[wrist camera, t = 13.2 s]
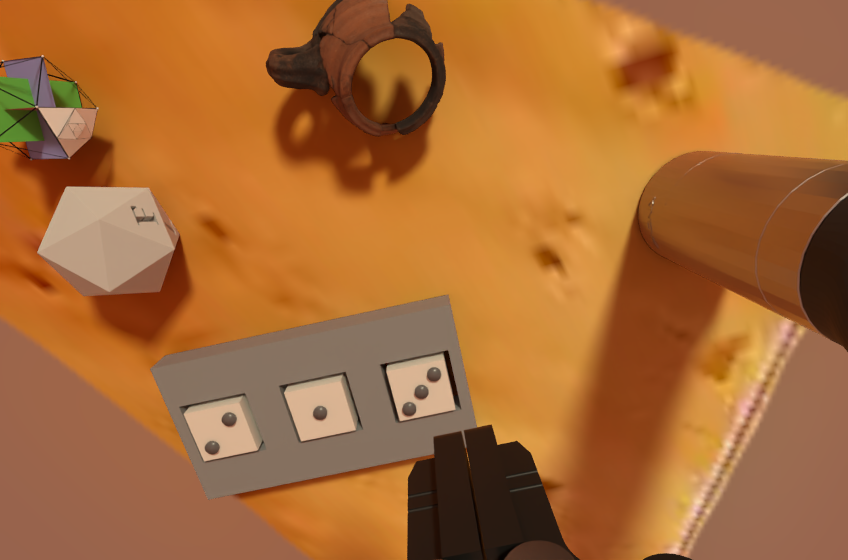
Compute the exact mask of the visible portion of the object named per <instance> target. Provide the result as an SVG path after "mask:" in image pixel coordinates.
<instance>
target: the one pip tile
mask: <svg viewBox="0 0 848 560" xmlns="http://www.w3.org/2000/svg"><path fill="white" fill-rule="evenodd" d="M284 394H285V397H286V400H287V403H288V406H289V408H290V411H291V414H292V417H293V420H294V423H295V425H296V428H297V431H298V434H299V437H300V440H301V441H306V440H311V439H316V438H320V437H325V436H330V435H335V434H340V433H345V432H350V431H354V430H356V427H357V421H358V416H359V414H358V410H357V407H356V404H355V401H354V397H353V394H352V391H351V387H350V384H349V381H348V377H347V374H346V372H342V373H337V374H332V375H327V376H323V377H318V378H313V379H309V380H304V381H299V382H294V383H290V384H288V386H287V388H286V390H285V392H284Z"/></svg>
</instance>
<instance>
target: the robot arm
mask: <svg viewBox="0 0 848 560" xmlns="http://www.w3.org/2000/svg"><path fill="white" fill-rule="evenodd" d="M638 221H639V226H640V231H641V233H642V235H643V238H644V240H645V241H646V243H647V244H648V245H649V246H650V248H651V249H652V250H654V251H655V252H656V253H658V254H659V255H661V256H663V257H665V258H667V259H669V260H671V261H673V262H675V263H677V264H679V265H681V266H683V267H684V268H686V269H688V270H690V271H692V272H694V273H696V274H698V275H700V276H702V277H704V278H706V279H708V280H710V281H712V282H714V283H716V284H718V285H720V286H722V287H724V288H726V289H728V290H730V291H732V292H734V293H736V294H738V295H740V296H742V297H745V298H747V299H749V300H751V301H753V302H755V303H757V304H759V305H761V306H763V307H765V308H767V309H769V310H771V311H773V312H775V313H777V314H779V315H781V316H783V317H785V318H787V319H789V320H791V321H793V322H795V323H797V324H799V325H801V326H803V327H805V328H807V329H809V330H811V331H813V332H816V333H818V334H820V335H822V336H824V337H826V338H828V339H830V340H832V341H834V342H836V343H838V344H840V345H842V346H843V347H844V348H845V349H846V350H847V352H848V161H842V160H827V159H813V158H798V157H783V156H768V155H753V154H741V153H727V152H711V151H696V152H692V153H687V154H684V155H681V156H679V157H677V158H674V159H673V160H671V161H670V162H668V163H667V164H665V165H664V166H663V167H662V168H661V169H660V170H659V171H658V172H657V173H656V174H654V176H653V177H652V178H651V180H650V181H649V183H648V184H647V186H646V188H645V190H644V192H643V194H642V197H641V201H640V205H639V214H638ZM464 435H465V441H466V447H467V452H468V457H467V453H466V448H465V444H464V440H463V435H462V431H458V432H453V433H448V434H443V435H438V436H434V437H433V442H434V456H435V458H432V459H427V460H422V461H417V462H416V463H415V465H414V467H413V469H412V471H411V473H410V475H409V477H408V546H407V560H580V559H579V558H577V557H576V556H575V555H574V554H573V553H572V552H571V551H570V550H569V549H568V547H567V546H566V544H565V542H564V540H563V538H562V535H561V533H560V530H559V527H558V525H557V522H556V519H555V517H554V514H553V511H552V509H551V506H550V503H549V501H548V498H547V495H546V493H545V490H544V487H543V485H542V482H541V479H540V476H539V474H538V472H537V468H536V466H535V463H534V460H533V458H532V455H531V453H530V452H529V451H528V450H527V449H526V448H524V447H523V446H522V445H521V444H520V443H519V442H518V441H515V442H510V443H505V444H500V445H497V442H496V439H495V435H494V431H493V428H492V425H487V426H482V427H477V428H472V429H467V430H464ZM468 458H469V461H468ZM469 464H470V466H469ZM643 560H692V559H690V558H687V557H684V556H681V555H676V554H667V553H664V554H656V555H652V556H649V557H647V558H645V559H643Z"/></svg>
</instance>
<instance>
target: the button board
mask: <svg viewBox="0 0 848 560" xmlns="http://www.w3.org/2000/svg"><path fill="white" fill-rule="evenodd" d="M446 350H448V351H449V356H450V360H451V365H452V369H453V374H454V378H455V382H456V387H457V391H458V395H456V396H453V397H454V403H455V409H456V410H452V411H447V412H442V413H437V414H432V415H427V416H423V417H418V418H413V419H408V420H403V421H400V419H399V416H398V412H397V408H396V405H395V401H394V397H393V394H392V390H391V386H390V383H389V379H388V375H387V372H386V371H387V370H386V366H385V363H389V362H394V361H399V360H403V359H408V358H413V357H418V356H422V355H427V354H432V353H437V352H441V351H446ZM150 370H151V372H152V374H153V377H154V379H155V381H156V383H157V386H158V388H159V390H160V392H161V395H162V397H163V399H164V401H165V404H166V406H167V408H168V410H169V413H170V415H171V417H172V419H173V422H174V424H175V426H176V428H177V431H178V433H179V435H180V437H181V440H182V442H183V444H184V446H185V449H186V451H187V453H188V455H189V458H190V460H191V462H192V464H193V467H194V469H195V471H196V473H197V475H198V478H199V480H200V482H201V484H202V487H203V489H204V491H205V494H206V496H207V498H208V500H209V499H214V498H219V497H224V496H229V495H234V494H239V493H244V492H249V491H254V490H259V489H264V488H269V487H274V486H278V485H283V484H288V483H293V482H298V481H303V480H308V479H313V478H318V477H323V476H328V475H333V474H338V473H343V472H348V471H353V470H358V469H363V468H368V467H372V466H377V465H382V464H387V463H392V462H397V461H402V460H407V459H412V458H417V457H422V456H427V455H432V454H434V442H433V437H434V436H438V435H443V434H448V433H453V432H458V431H462V435H463V440H464V444H465V448H467V447H466V441H465V435H464V430H467V429H472V428H477V425H476V421H475V416H474V411H473V407H472V402H471V398H470V393H469V388H468V384H467V379H466V374H465V370H464V365H463V361H462V356H461V351H460V347H459V342H458V337H457V333H456V328H455V323H454V319H453V314H452V310H451V305H450V301H449V296H448V295H444V296H440V297H435V298H430V299H426V300H421V301H416V302H412V303H407V304H403V305H398V306H393V307H389V308H384V309H379V310H375V311H370V312H365V313H361V314H356V315H351V316H347V317H342V318H338V319H333V320H328V321H324V322H319V323H314V324H310V325H305V326H300V327H296V328H291V329H287V330H282V331H277V332H273V333H268V334H263V335H259V336H254V337H249V338H245V339H240V340H235V341H231V342H226V343H222V344H217V345H212V346H208V347H203V348H198V349H194V350H189V351H184V352H180V353H175V354H171V355H166V356H164V357H163V358H162V359H161V360H160V361H159V362H157V363H156V364H155V365H154V366H153V367H152V368H151V369H150ZM342 372H346V374H347V377H348V381H349V384H350V387H351V391H352V394H353V397H354V401H355V404H356V407H357V410H358V414H359V416H358V421H357V427H356V430H354V431H350V432H345V433H340V434H335V435H330V436H325V437H320V438H316V439H311V440H306V441H301V440H300V437H299V434H298V431H297V428H296V425H295V423H294V420H293V417H292V414H291V411H290V408H289V406H288V403H287V400H286V397H285V394H284V392H285V390H286V388H287V386H288V384H290V383H294V382H299V381H304V380H309V379H313V378H318V377H323V376H327V375H332V374H337V373H342ZM242 393H245V394H246V397H247V399H248V402H249V404H250V407H251V410H252V412H253V415H254V418H255V420H256V423H257V425H258V428H259V431H260V433H261V436H262V439H263V441H262V443H261V445H260V447H259V449H258V450H257V451H252V452H247V453H242V454H238V455H233V456H228V457H223V458H218V459H213V460H208V461H204V460H203V458H202V456H201V453H200V451H199V449H198V446H197V444H196V442H195V439H194V437H193V435H192V433H191V430H190V428H189V426H188V423H187V421H186V419H185V416H184V413H185V412H186V411H187V409H188V408H189V407H190V406H191V404H195V403H199V402H204V401H209V400H214V399H218V398H223V397H228V396H233V395H237V394H242Z"/></svg>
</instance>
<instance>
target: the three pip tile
mask: <svg viewBox="0 0 848 560" xmlns="http://www.w3.org/2000/svg"><path fill="white" fill-rule="evenodd" d="M386 372H387V375H388V379H389V383H390V386H391V390H392V394H393V397H394V401H395V405H396V408H397V412H398V416H399V419H400V421H403V420H408V419H413V418H418V417H423V416H427V415H432V414H437V413H442V412H447V411H452V410H456V409H455V403H454V397H453V391H452V386H451V382H450V378H449V373H448V369H447V364H446V360H445V356H444V351H441V352H437V353H432V354H427V355H422V356H418V357H413V358H408V359H403V360H399V361H394V362H389V363H387V371H386Z"/></svg>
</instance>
